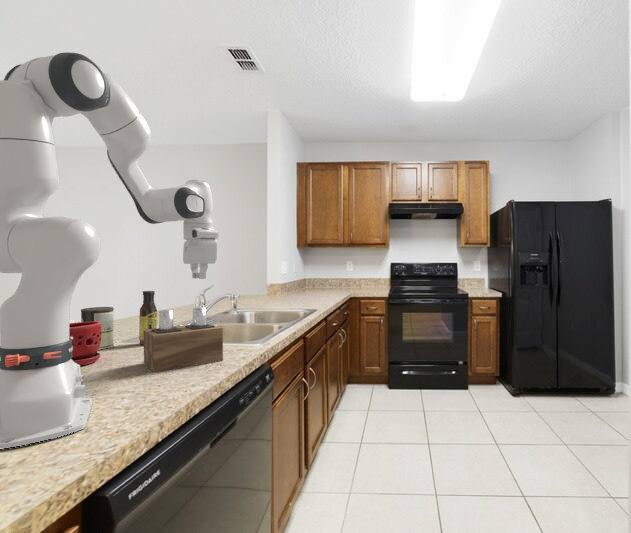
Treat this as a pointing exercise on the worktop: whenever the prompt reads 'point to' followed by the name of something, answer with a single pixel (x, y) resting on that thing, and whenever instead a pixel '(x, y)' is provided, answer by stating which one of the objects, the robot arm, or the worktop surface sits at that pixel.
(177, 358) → the socket block
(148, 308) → the sauce bottle
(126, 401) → the worktop surface
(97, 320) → the coffee can
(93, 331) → the plant pot
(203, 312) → the far peg
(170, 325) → the near peg
